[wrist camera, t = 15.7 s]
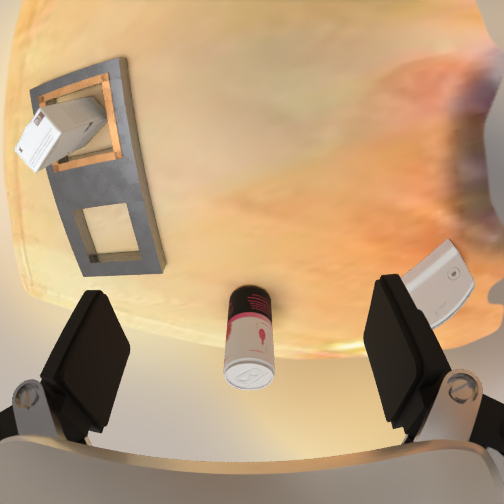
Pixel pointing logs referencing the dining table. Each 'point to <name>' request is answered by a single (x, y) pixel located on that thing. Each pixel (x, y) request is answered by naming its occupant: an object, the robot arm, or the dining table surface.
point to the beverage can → (249, 340)
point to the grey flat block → (104, 175)
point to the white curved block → (440, 284)
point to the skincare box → (60, 131)
